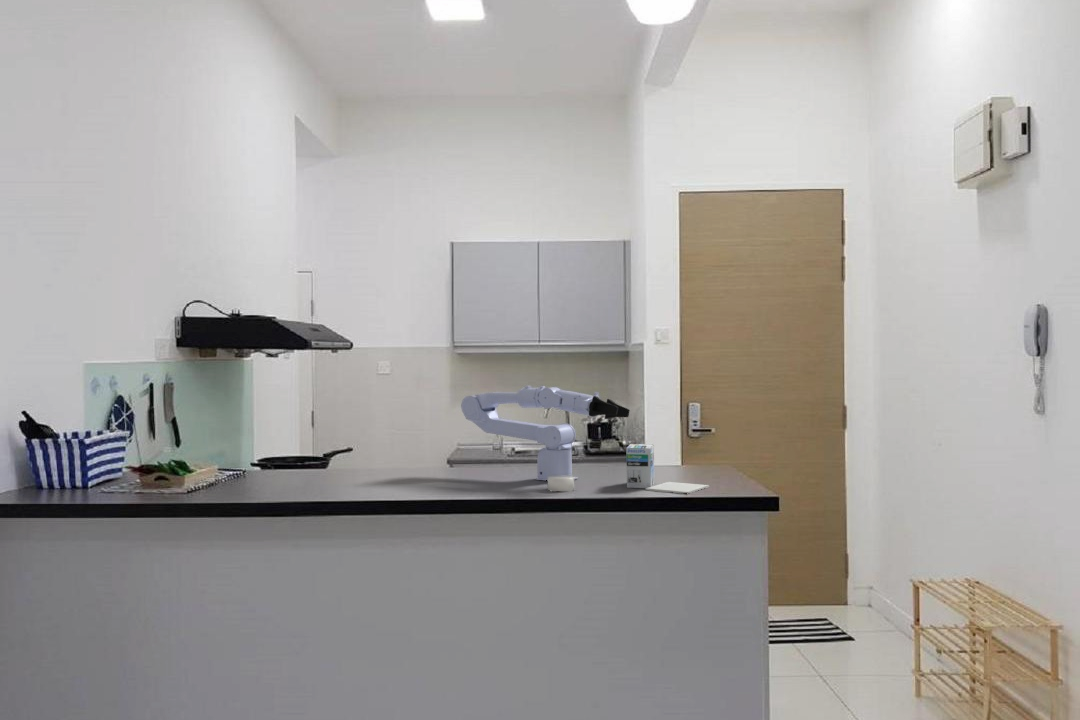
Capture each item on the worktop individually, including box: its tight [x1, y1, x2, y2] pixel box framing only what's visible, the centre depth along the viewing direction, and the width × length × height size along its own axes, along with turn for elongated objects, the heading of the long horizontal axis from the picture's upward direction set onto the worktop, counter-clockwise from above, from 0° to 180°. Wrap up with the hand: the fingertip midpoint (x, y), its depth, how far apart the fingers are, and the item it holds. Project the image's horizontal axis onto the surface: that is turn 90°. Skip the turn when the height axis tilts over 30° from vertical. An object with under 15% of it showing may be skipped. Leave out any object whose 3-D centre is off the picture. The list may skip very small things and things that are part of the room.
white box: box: [645, 481, 710, 495], centre depth 231 cm, size 12×13×1 cm
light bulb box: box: [625, 443, 655, 489], centre depth 238 cm, size 11×7×11 cm, turn 168°
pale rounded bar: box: [547, 475, 575, 492], centre depth 232 cm, size 7×7×4 cm
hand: (623, 412), depth 239 cm, fingers open, 7 cm apart
